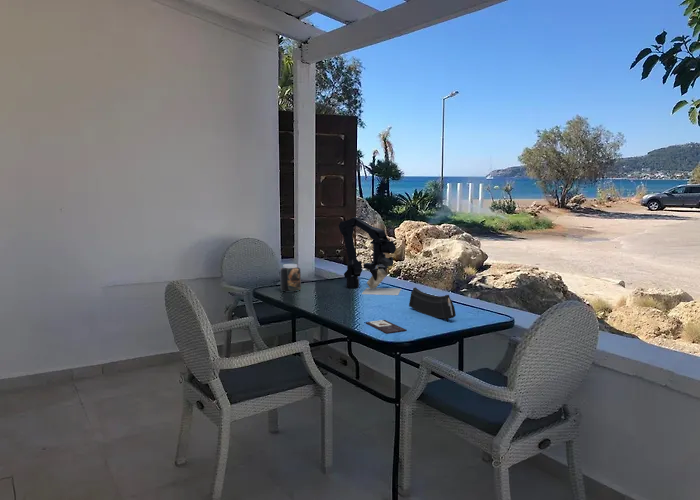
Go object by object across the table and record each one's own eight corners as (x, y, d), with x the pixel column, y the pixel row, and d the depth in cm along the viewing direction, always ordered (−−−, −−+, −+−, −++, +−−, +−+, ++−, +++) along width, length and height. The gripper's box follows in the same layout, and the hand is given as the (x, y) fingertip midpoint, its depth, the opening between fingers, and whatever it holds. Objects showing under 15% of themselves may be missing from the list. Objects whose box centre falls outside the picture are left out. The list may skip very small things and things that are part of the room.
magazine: (405, 289, 234) (443, 279, 208) (411, 288, 235) (450, 279, 209) (411, 325, 231) (451, 320, 205) (417, 324, 233) (457, 319, 207)
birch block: (366, 282, 278) (377, 269, 271) (372, 281, 281) (382, 268, 274) (370, 288, 276) (381, 275, 269) (376, 287, 279) (387, 274, 272)
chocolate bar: (386, 332, 190) (365, 322, 207) (386, 335, 190) (365, 324, 207) (406, 329, 194) (384, 319, 210) (406, 332, 194) (384, 321, 210)
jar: (277, 292, 277) (276, 265, 275) (285, 288, 288) (285, 263, 287) (296, 293, 274) (295, 266, 272) (304, 289, 285) (303, 263, 283)
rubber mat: (361, 295, 266) (361, 294, 266) (366, 288, 285) (366, 287, 284) (398, 296, 262) (398, 295, 262) (401, 289, 281) (401, 288, 281)
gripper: (377, 254, 261) (377, 283, 262) (400, 251, 273) (400, 279, 275) (362, 253, 269) (362, 281, 270) (385, 250, 281) (385, 277, 283)
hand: (378, 280), depth 275 cm, fingers closed on birch block, 4 cm apart
